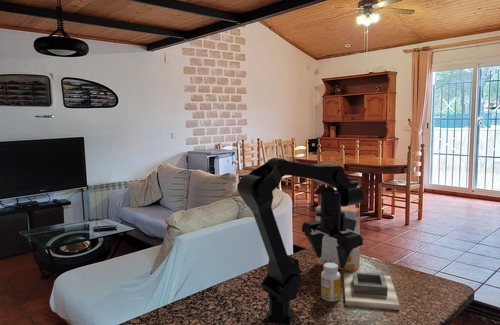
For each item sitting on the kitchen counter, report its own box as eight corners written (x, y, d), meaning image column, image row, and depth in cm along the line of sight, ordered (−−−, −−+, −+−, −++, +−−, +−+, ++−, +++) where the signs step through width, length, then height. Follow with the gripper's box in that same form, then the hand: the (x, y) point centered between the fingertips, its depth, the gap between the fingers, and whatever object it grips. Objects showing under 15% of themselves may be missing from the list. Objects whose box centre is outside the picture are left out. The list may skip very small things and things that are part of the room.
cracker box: (360, 266, 128) (360, 207, 125) (354, 273, 123) (355, 211, 120) (321, 259, 135) (321, 203, 132) (315, 265, 130) (314, 206, 127)
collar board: (399, 310, 99) (399, 295, 99) (345, 305, 102) (345, 291, 102) (389, 280, 117) (390, 268, 116) (343, 277, 120) (344, 265, 119)
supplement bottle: (338, 293, 110) (339, 261, 108) (341, 302, 104) (341, 269, 103) (320, 292, 110) (320, 261, 109) (322, 301, 105) (322, 268, 103)
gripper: (377, 211, 100) (376, 266, 102) (328, 199, 116) (328, 247, 118) (348, 218, 94) (347, 276, 96) (300, 204, 110) (300, 254, 112)
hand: (330, 262), depth 106 cm, fingers open, 9 cm apart
